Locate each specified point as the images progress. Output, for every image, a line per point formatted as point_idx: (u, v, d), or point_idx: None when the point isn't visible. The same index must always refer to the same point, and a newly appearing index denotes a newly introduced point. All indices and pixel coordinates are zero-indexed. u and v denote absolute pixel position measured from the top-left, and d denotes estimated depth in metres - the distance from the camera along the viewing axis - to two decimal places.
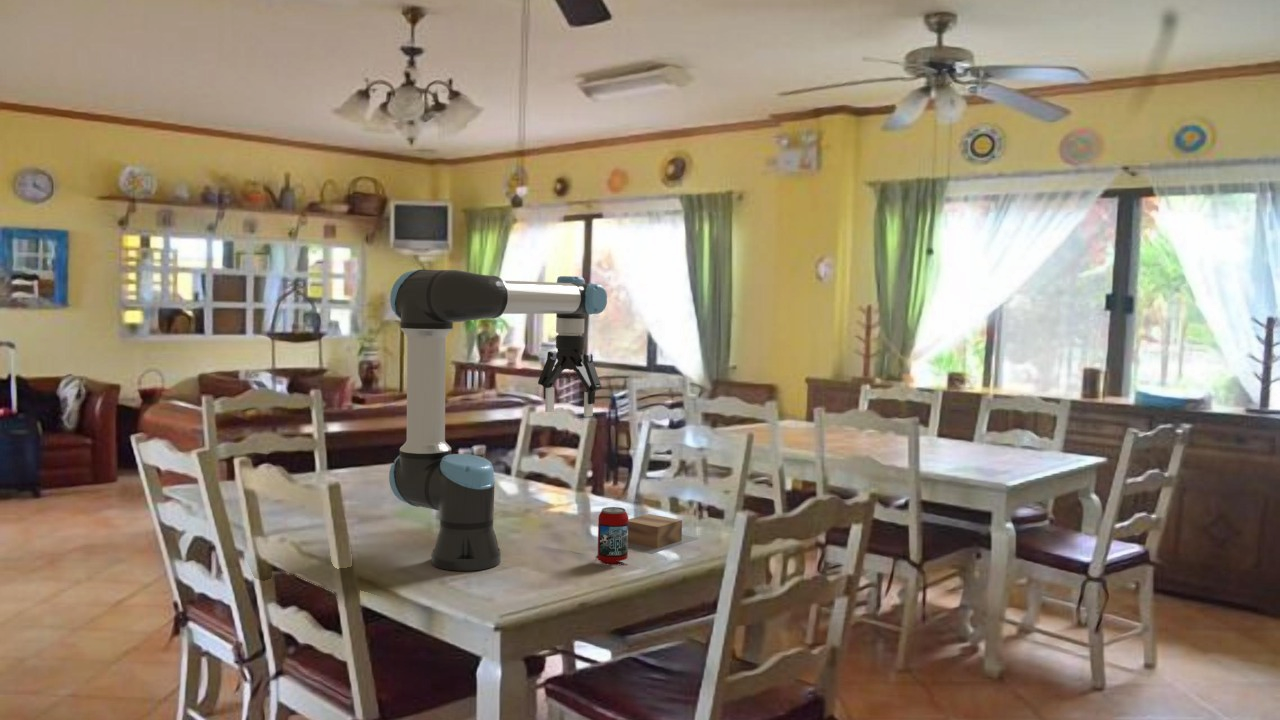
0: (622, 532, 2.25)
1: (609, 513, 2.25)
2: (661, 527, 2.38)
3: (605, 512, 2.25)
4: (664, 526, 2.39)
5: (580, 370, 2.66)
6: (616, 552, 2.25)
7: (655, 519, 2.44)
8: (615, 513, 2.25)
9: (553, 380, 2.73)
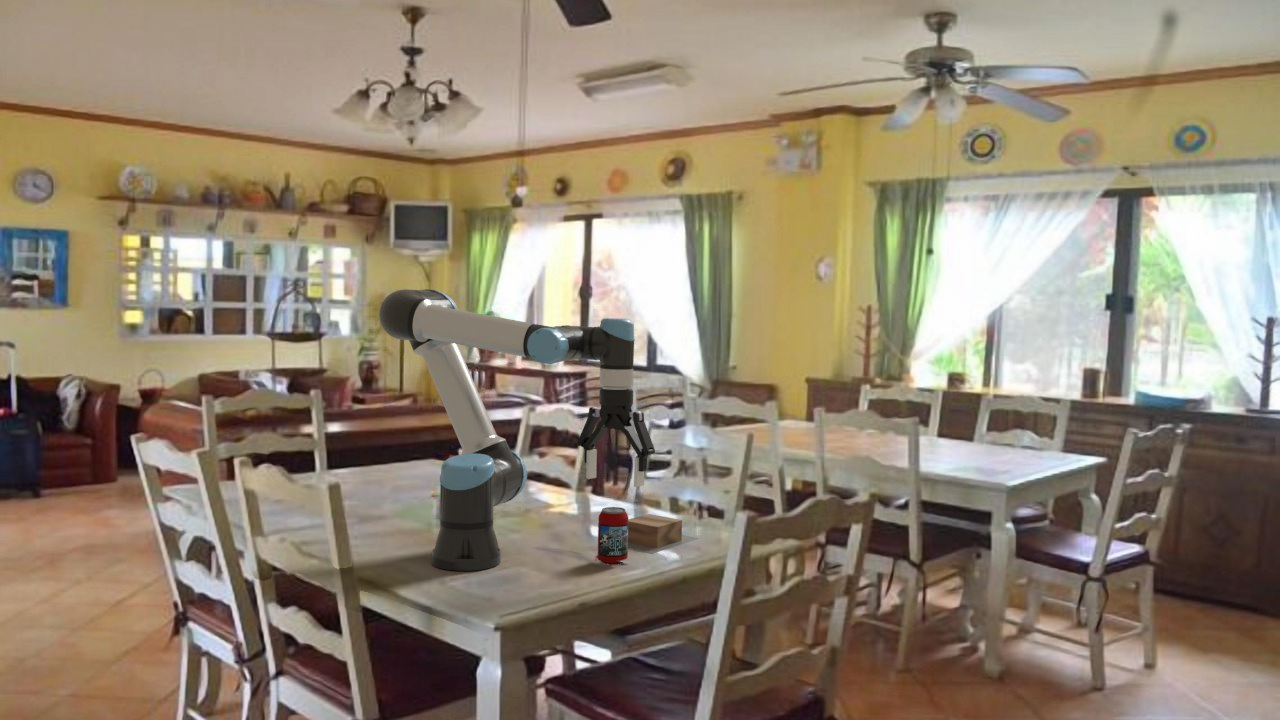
0: (622, 532, 2.25)
1: (609, 513, 2.25)
2: (661, 527, 2.38)
3: (605, 512, 2.25)
4: (664, 526, 2.39)
5: (629, 431, 2.23)
6: (616, 552, 2.25)
7: (655, 519, 2.44)
8: (615, 513, 2.25)
9: (595, 441, 2.30)
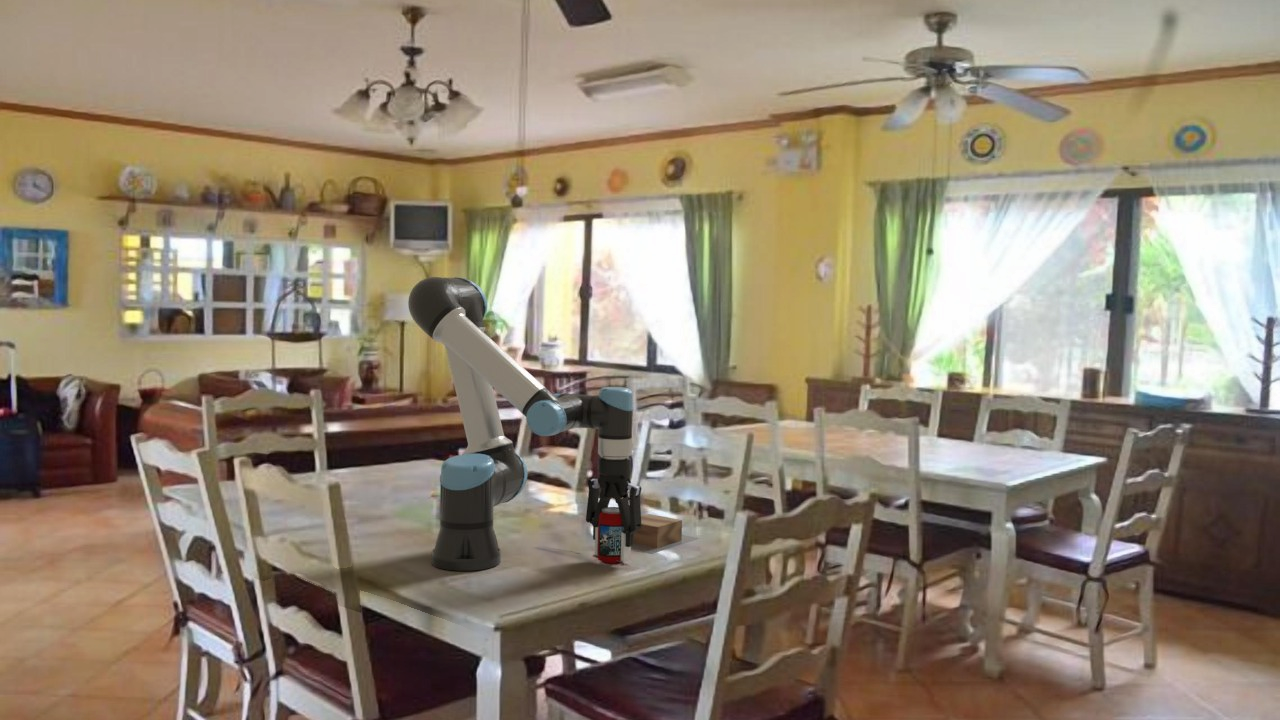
0: None
1: (609, 513, 2.25)
2: (661, 527, 2.38)
3: (605, 512, 2.25)
4: (664, 526, 2.39)
5: (623, 503, 2.25)
6: (616, 552, 2.25)
7: (655, 519, 2.44)
8: (615, 513, 2.25)
9: None
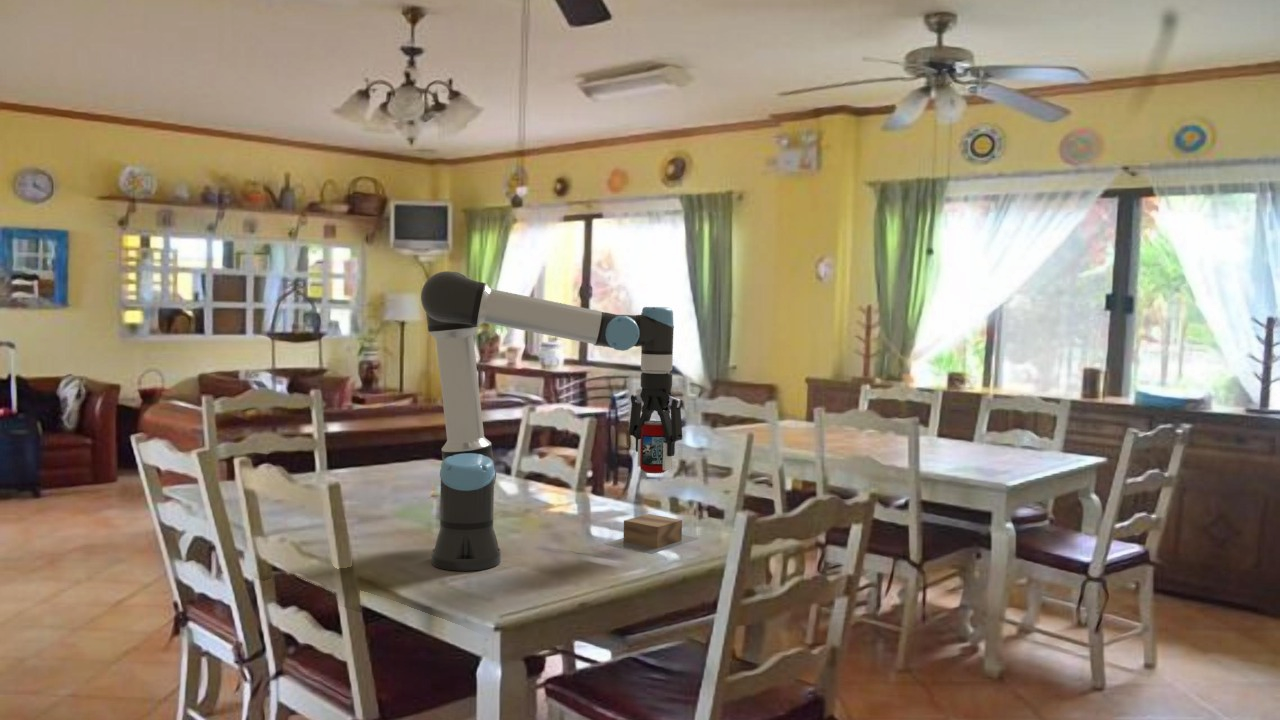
0: None
1: (651, 424, 2.39)
2: (661, 527, 2.38)
3: (648, 424, 2.40)
4: (664, 526, 2.39)
5: (664, 415, 2.39)
6: (658, 461, 2.39)
7: (655, 519, 2.44)
8: (657, 424, 2.39)
9: None
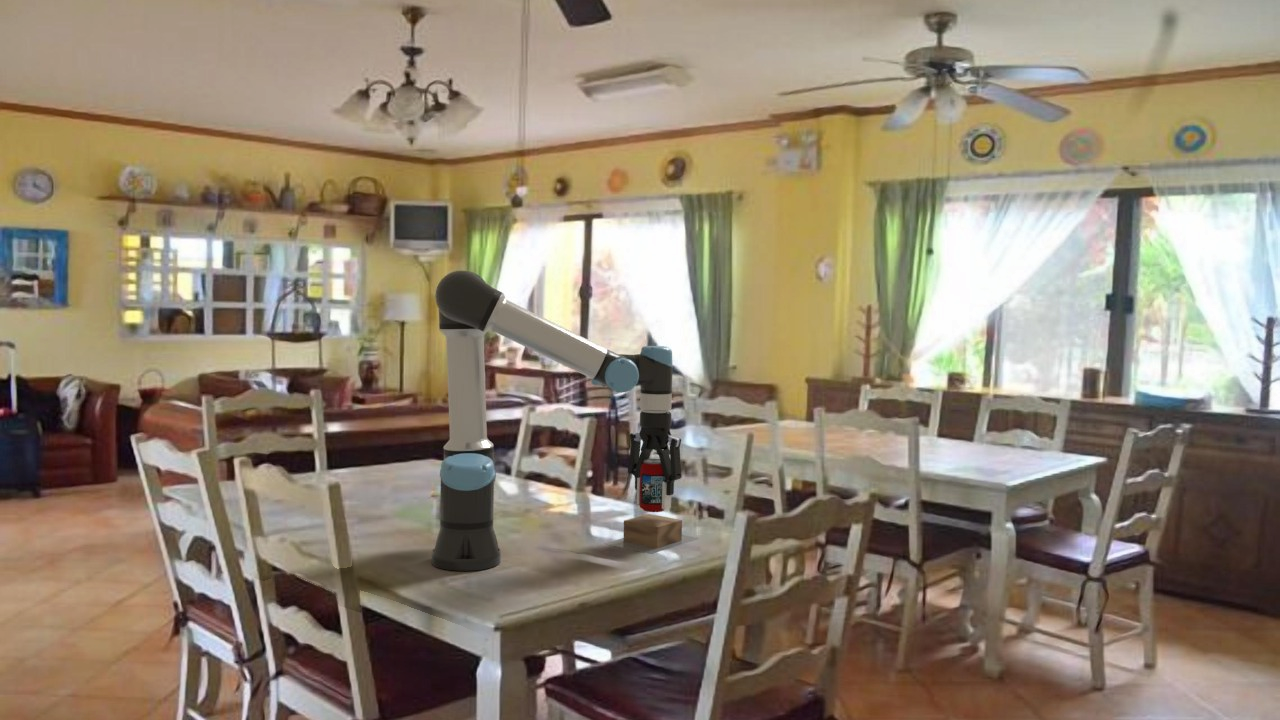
0: None
1: (651, 463, 2.40)
2: (661, 527, 2.38)
3: (647, 463, 2.41)
4: (664, 526, 2.39)
5: (664, 455, 2.40)
6: (658, 500, 2.40)
7: (655, 519, 2.44)
8: (656, 463, 2.40)
9: None
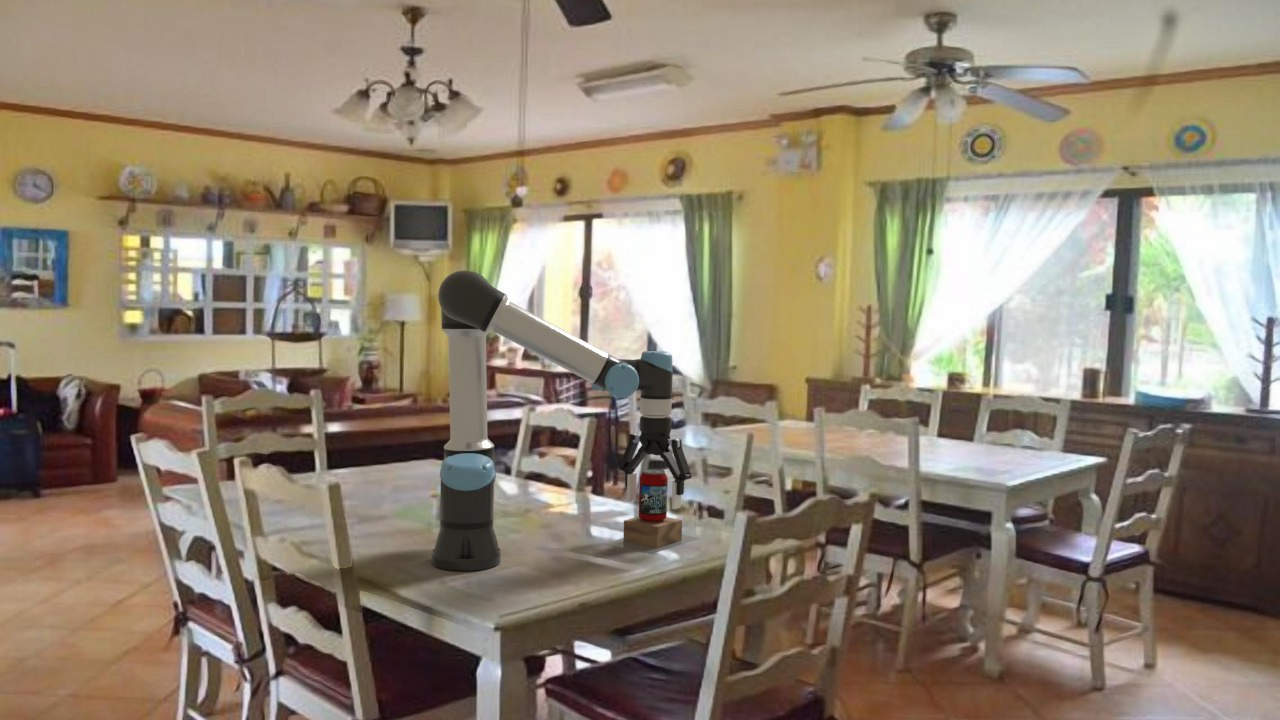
0: (662, 492, 2.40)
1: (650, 474, 2.40)
2: (661, 527, 2.38)
3: (646, 473, 2.41)
4: (664, 526, 2.39)
5: (667, 456, 2.39)
6: (657, 511, 2.40)
7: None
8: (656, 474, 2.40)
9: (636, 465, 2.46)
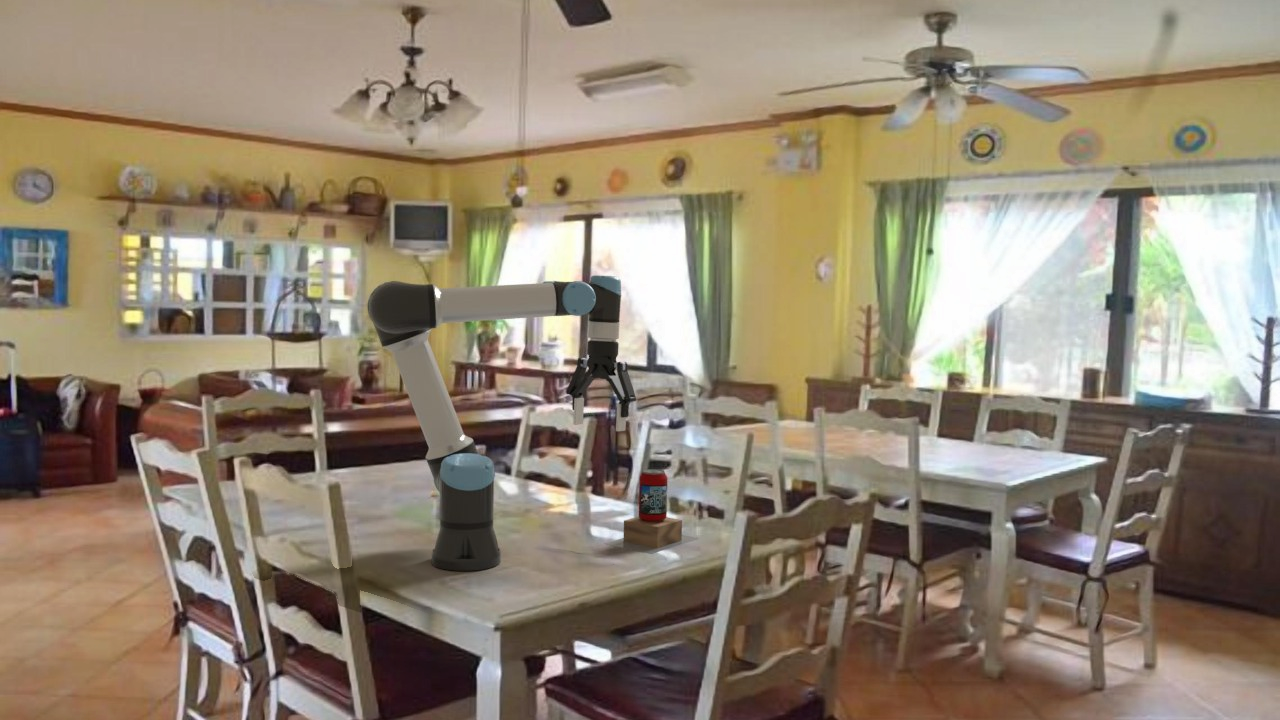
0: (662, 492, 2.40)
1: (650, 474, 2.40)
2: (661, 527, 2.38)
3: (646, 473, 2.41)
4: (664, 526, 2.39)
5: (613, 379, 2.41)
6: (657, 510, 2.40)
7: None
8: (655, 474, 2.40)
9: (583, 390, 2.48)
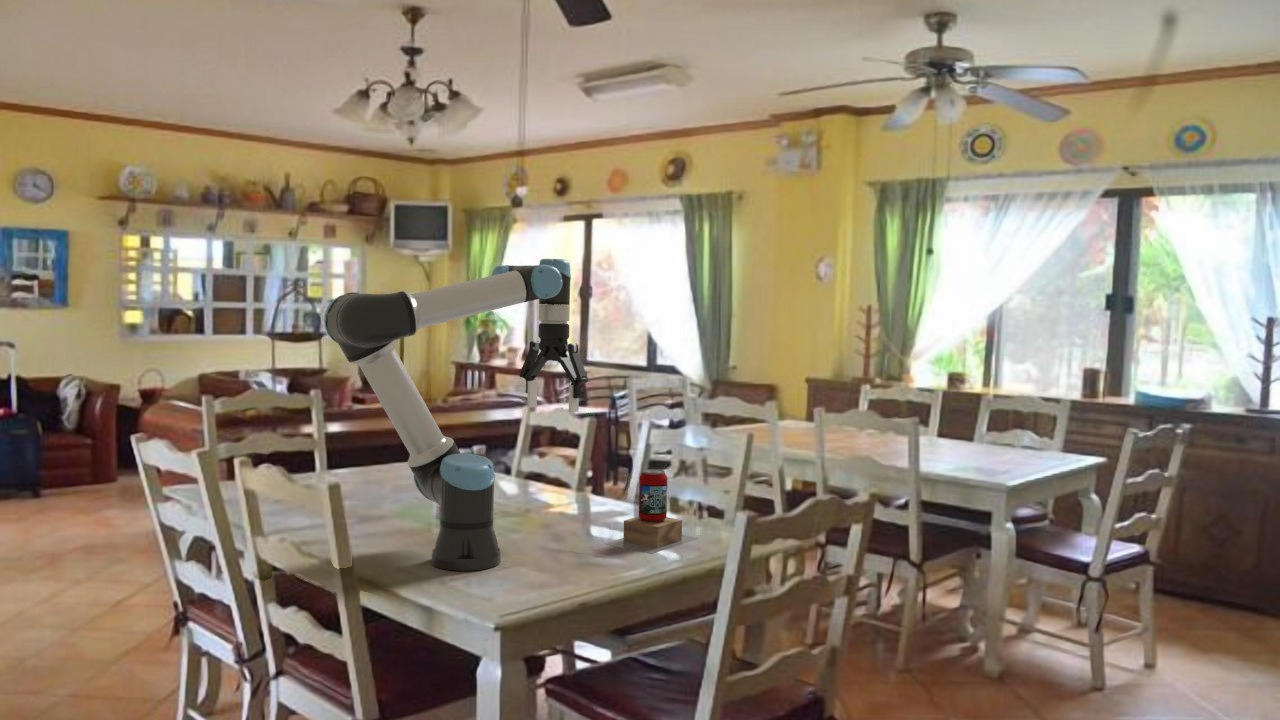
0: (662, 492, 2.40)
1: (650, 474, 2.40)
2: (661, 527, 2.38)
3: (646, 473, 2.41)
4: (664, 526, 2.39)
5: (565, 361, 2.44)
6: (657, 510, 2.40)
7: None
8: (655, 474, 2.40)
9: (536, 372, 2.51)
